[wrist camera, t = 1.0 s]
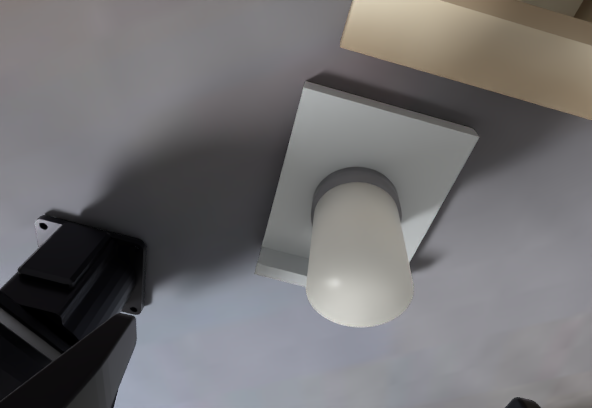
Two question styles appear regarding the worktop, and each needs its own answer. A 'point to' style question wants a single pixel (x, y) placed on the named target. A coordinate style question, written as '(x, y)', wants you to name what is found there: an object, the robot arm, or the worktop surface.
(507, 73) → the socket board
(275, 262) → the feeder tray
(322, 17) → the worktop surface
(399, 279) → the sleeve
